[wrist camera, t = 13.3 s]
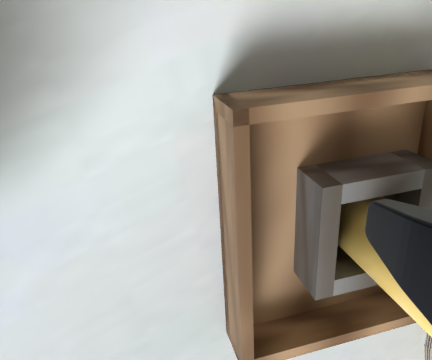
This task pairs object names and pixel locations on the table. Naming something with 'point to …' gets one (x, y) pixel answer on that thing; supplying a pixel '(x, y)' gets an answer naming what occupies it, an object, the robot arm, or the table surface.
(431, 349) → the lighter
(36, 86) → the table surface
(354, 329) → the walled box
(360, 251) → the plug
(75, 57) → the table surface
